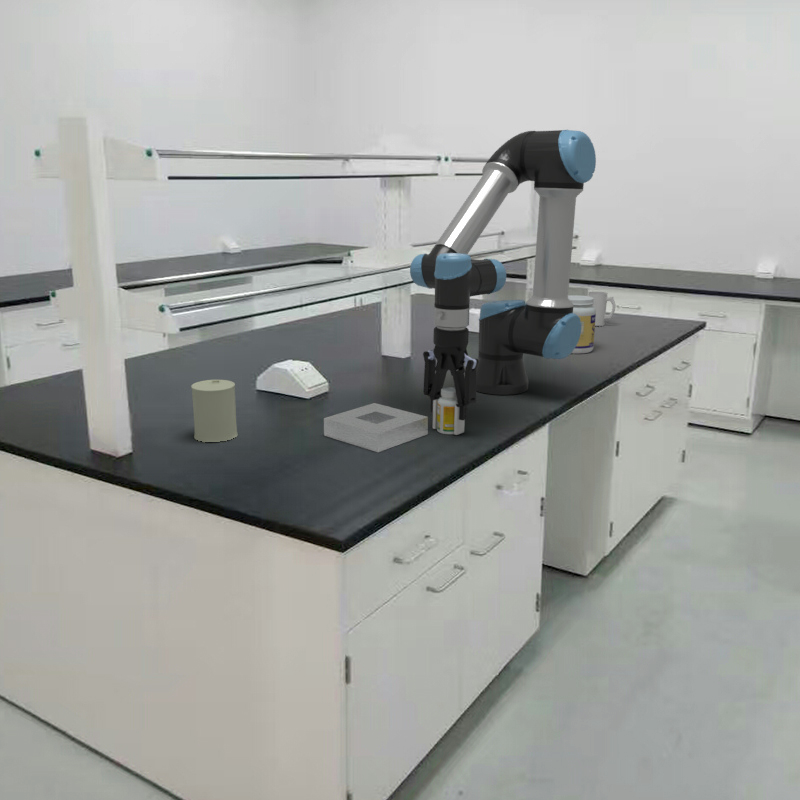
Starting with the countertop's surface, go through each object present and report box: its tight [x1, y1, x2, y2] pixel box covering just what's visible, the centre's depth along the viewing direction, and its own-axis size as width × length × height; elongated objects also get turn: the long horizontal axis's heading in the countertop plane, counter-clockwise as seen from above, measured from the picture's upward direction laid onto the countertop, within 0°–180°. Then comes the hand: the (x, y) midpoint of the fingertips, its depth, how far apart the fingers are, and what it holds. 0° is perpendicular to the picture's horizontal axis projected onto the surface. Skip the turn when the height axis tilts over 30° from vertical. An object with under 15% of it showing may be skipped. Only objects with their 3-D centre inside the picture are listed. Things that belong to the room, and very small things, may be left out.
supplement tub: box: [568, 294, 596, 355], centre depth 263 cm, size 12×12×17 cm
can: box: [190, 379, 239, 443], centre depth 179 cm, size 9×9×12 cm
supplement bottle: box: [436, 386, 458, 435], centre depth 184 cm, size 5×5×10 cm
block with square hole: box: [323, 402, 429, 453], centre depth 181 cm, size 16×16×4 cm
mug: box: [587, 290, 616, 326], centre depth 304 cm, size 10×7×12 cm, turn 63°
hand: (448, 430), depth 185 cm, fingers closed on supplement bottle, 5 cm apart
